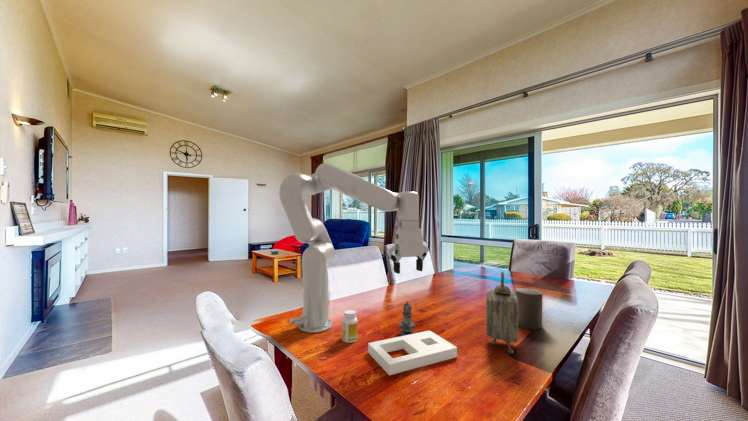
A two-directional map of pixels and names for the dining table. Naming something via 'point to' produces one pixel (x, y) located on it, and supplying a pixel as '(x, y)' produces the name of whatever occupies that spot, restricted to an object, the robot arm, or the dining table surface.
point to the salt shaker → (406, 321)
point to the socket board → (411, 351)
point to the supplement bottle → (349, 326)
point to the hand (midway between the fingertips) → (408, 271)
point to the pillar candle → (529, 308)
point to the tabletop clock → (502, 314)
